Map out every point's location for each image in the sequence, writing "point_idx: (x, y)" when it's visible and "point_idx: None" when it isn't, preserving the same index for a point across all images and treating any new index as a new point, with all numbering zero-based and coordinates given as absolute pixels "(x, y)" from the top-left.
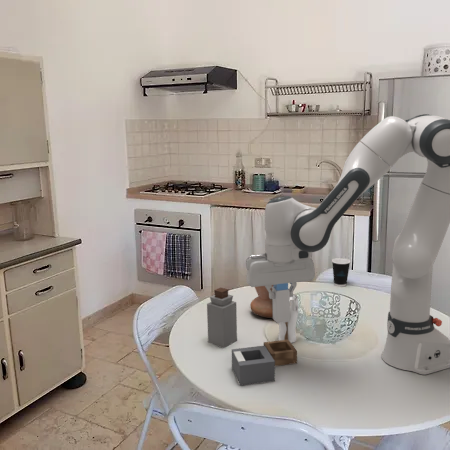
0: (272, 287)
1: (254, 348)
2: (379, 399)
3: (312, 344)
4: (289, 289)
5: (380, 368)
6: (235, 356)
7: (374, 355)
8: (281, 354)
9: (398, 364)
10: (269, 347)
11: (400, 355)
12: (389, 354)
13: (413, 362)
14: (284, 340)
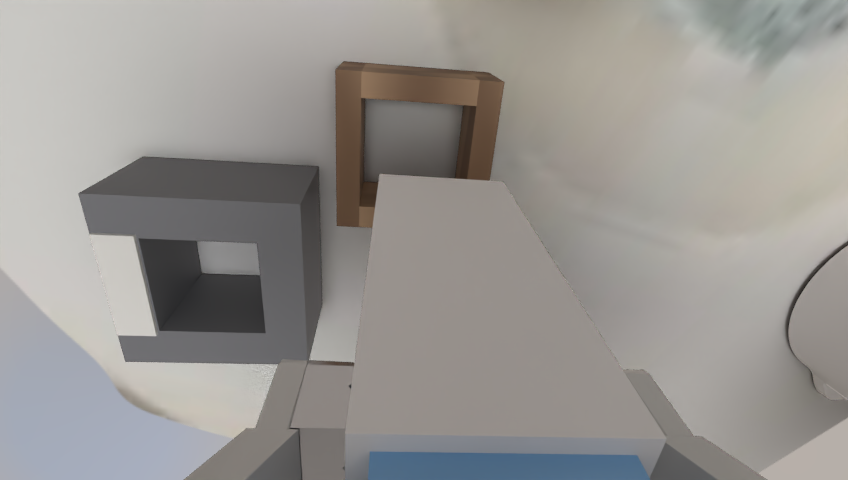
0: (347, 433)
1: (229, 223)
2: None
3: (658, 36)
4: (659, 456)
5: (741, 325)
6: (104, 277)
7: (815, 238)
8: None
9: (805, 353)
10: (350, 151)
11: (844, 376)
12: (832, 332)
13: (842, 394)
14: (476, 88)
